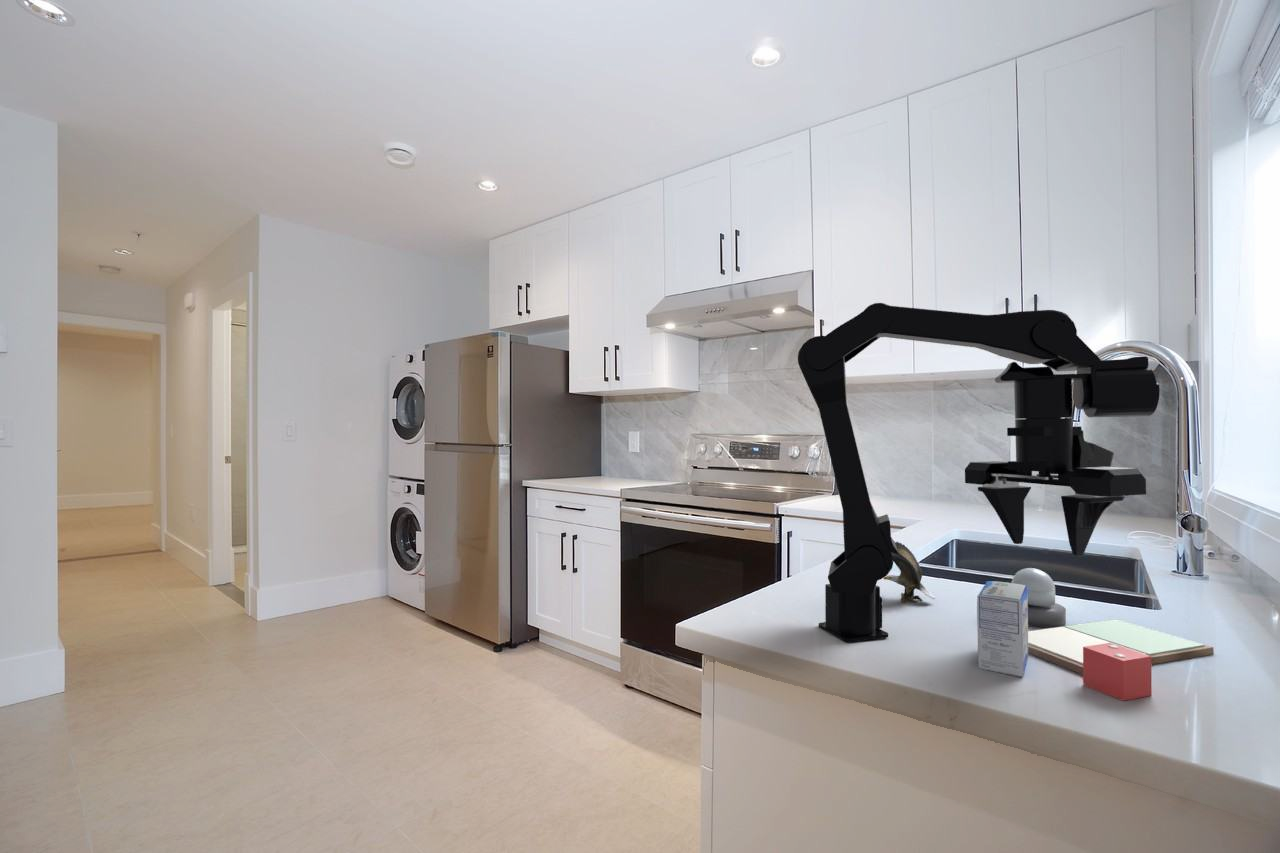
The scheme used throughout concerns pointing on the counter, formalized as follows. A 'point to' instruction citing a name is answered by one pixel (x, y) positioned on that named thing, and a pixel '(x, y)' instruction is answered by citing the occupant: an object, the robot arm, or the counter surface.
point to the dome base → (1047, 616)
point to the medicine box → (1003, 628)
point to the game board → (1070, 640)
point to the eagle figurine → (908, 574)
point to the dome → (1036, 586)
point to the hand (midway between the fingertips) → (1046, 549)
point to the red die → (1117, 671)
